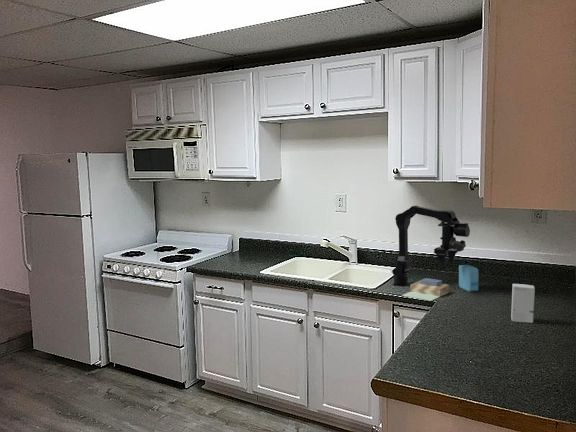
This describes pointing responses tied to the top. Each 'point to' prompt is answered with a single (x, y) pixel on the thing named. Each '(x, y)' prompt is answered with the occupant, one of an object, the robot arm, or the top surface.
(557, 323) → the top surface
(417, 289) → the beige shallow box
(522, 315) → the skincare box
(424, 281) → the block
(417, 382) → the top surface
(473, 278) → the data package
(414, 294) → the mat
